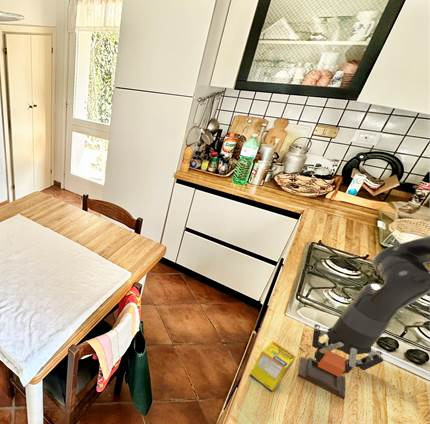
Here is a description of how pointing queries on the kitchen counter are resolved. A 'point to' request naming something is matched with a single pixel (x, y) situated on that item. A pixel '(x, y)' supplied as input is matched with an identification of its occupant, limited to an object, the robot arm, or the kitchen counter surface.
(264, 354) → the supplement box
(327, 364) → the orange-red small block
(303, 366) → the back plate
